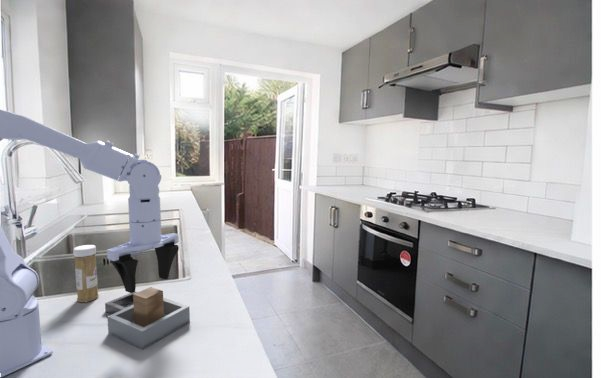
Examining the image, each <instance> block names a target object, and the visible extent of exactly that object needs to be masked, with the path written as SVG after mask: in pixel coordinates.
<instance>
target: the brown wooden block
mask: <svg viewBox="0 0 601 378" xmlns="http://www.w3.org/2000/svg"><path fill="white" fill-rule="evenodd" d="M136 292H137V293H135V294H133V302H132V303H133V304H134V323H135V324H137V325H140V326H142V327H145V326H147V325H149V324H151V323H153V322H155V321H157V320H159V319H161V318H163V317H164V304H163V298H164V291H163V290H162V289H158V288H155V287H152V286H151V287H148V288H145V289H143V290H140V291H136Z"/></svg>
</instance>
